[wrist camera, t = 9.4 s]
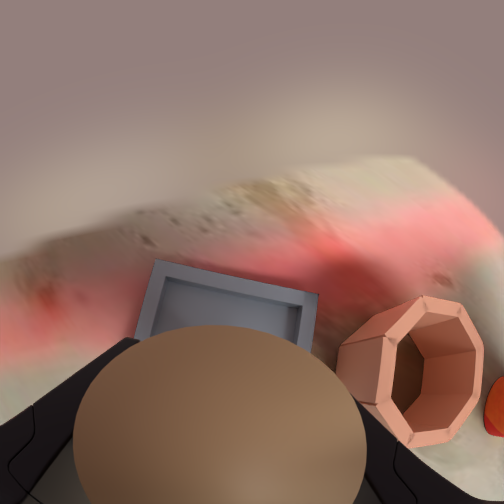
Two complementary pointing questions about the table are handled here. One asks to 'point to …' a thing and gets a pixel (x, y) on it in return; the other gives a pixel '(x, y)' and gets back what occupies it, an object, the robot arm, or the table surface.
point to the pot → (434, 374)
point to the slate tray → (224, 304)
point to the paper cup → (495, 409)
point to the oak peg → (218, 424)
